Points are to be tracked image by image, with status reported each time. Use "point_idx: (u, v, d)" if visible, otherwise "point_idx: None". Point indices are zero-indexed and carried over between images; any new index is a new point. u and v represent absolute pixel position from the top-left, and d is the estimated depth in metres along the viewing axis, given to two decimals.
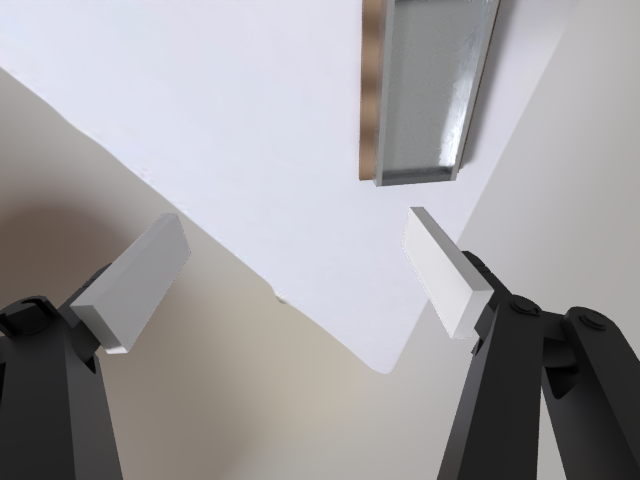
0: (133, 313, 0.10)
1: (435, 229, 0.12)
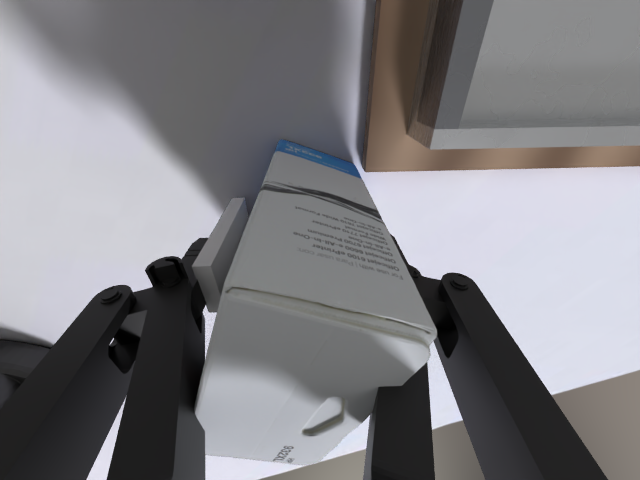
0: None
1: None
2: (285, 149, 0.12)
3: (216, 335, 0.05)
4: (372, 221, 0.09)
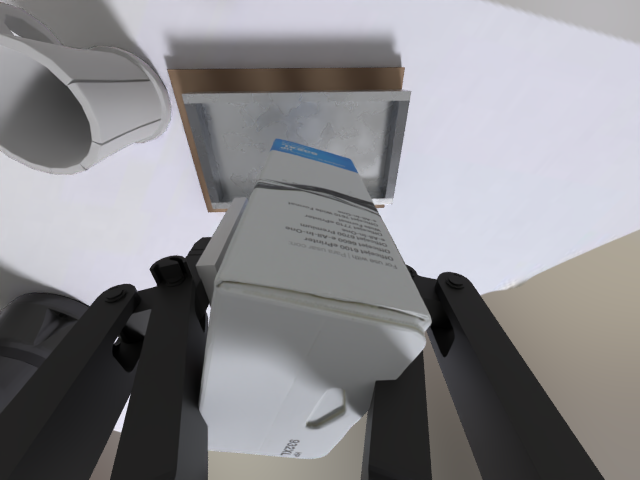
0: None
1: None
2: (280, 148, 0.12)
3: (212, 329, 0.05)
4: (367, 213, 0.09)
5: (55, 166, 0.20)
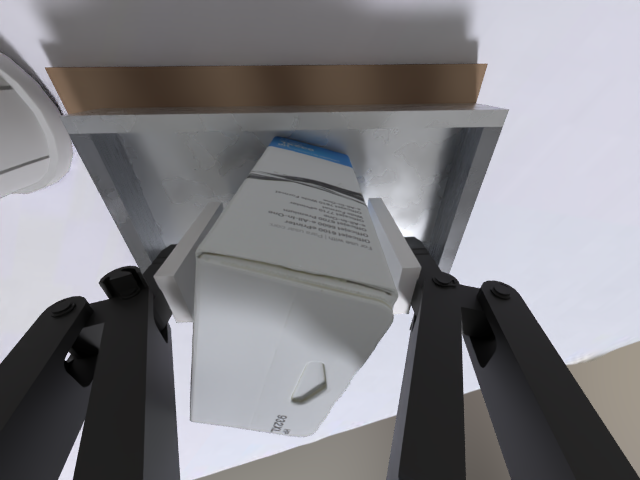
0: None
1: (385, 217, 0.13)
2: (277, 144, 0.13)
3: (196, 299, 0.06)
4: (353, 202, 0.09)
5: None
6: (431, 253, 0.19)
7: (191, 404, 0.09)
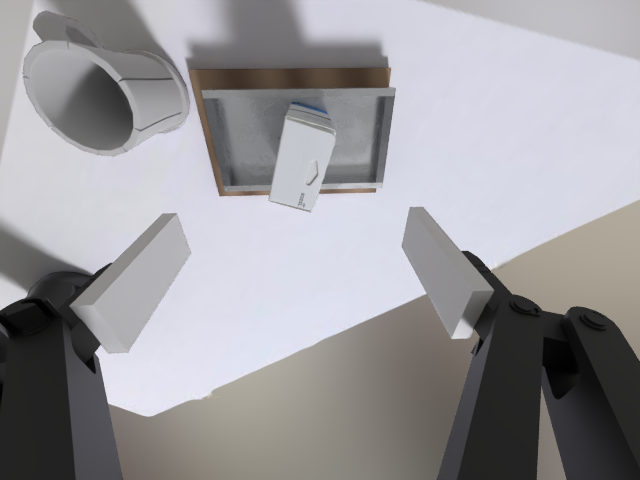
0: (133, 313, 0.10)
1: (435, 229, 0.12)
2: (294, 104, 0.29)
3: (282, 133, 0.22)
4: (326, 119, 0.26)
5: (101, 149, 0.24)
6: (374, 170, 0.36)
7: (271, 188, 0.25)
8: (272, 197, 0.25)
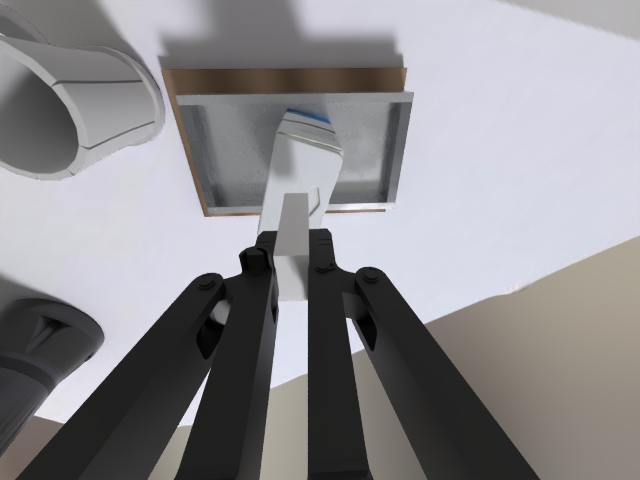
0: None
1: (302, 210, 0.14)
2: (290, 112, 0.24)
3: (273, 153, 0.17)
4: (329, 132, 0.20)
5: (41, 171, 0.19)
6: (385, 188, 0.30)
7: (260, 220, 0.20)
8: (262, 231, 0.20)
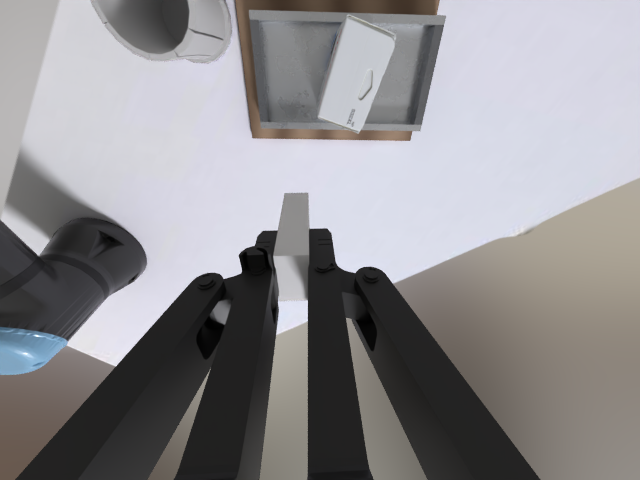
0: None
1: (302, 210, 0.14)
2: None
3: (342, 35, 0.22)
4: None
5: (152, 52, 0.23)
6: (413, 112, 0.35)
7: (322, 102, 0.24)
8: (322, 113, 0.25)
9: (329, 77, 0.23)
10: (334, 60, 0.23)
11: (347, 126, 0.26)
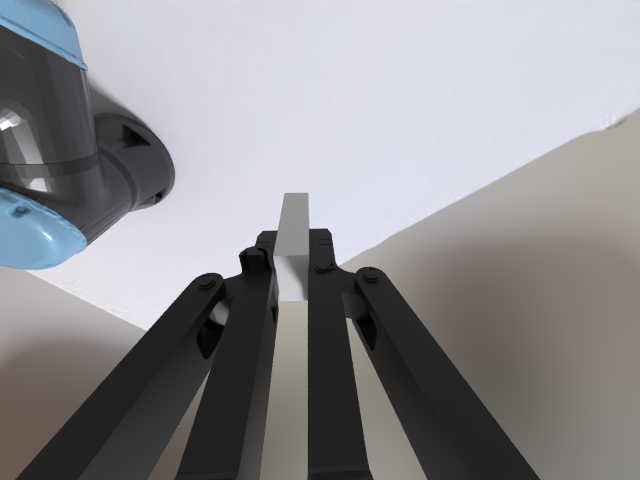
0: None
1: (302, 210, 0.14)
2: None
3: None
4: None
5: None
6: None
7: None
8: None
9: None
10: None
11: None
